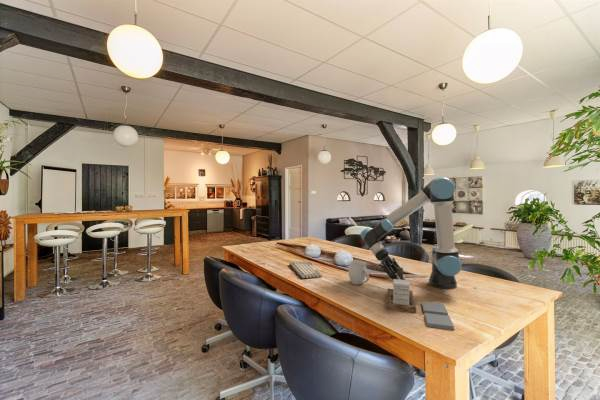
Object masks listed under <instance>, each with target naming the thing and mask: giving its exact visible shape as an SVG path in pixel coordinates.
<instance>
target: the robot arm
mask: <svg viewBox="0 0 600 400" xmlns="http://www.w3.org/2000/svg"><path fill="white" fill-rule="evenodd" d="M419 191H420V192H418V193H417V194H416V195H415V196H413V197H411V198H410V199H409V200H407V201H406V202H404V203H403V204H402V205H400V206H399V207H397V208H396V209H395V210H393V211H392V212H390V213H389V214H388V215H386V216H385V217H384V218H382V219H380V220H379V221H378V222H377V224H376V225H375V226H374V227H372V229H371V227H370V228H369V227H366V228H365V229H363V230H362V231H361V232H360V237H361V239H362V241H363V242H364V243H365V245H366V247H368V249H369V250H370V251H371V252H372V254H373V255H374V257H375V258H376V260H377V261H380V262H379V264H378V265H379V266H380V267H381V268H382V269H383V271H384V272H385V273H386V274H387V275H388V277H389V278H390V279H391V280H393V279H400V278H399V276H397V267H400V268H402V267H401V266H400V265H399V263H398V262H397V261H396V258H395V257H392V258H391V257H390V256H389V251H388V250H387V248H385V246H384V244H383V243H382V242H381V241H380V240H381V239H382V238H383V237H384V236H385V235H387V234H389V233H390V232H391V231H393V229H394V228H395V226H396V225H397V224H399V223H400V222H401V221H403V220H405V219H406V218H407V217H409V216H410V215H412V214H413V213H414V212H415V213H416V211H418V210H419V209H421V208H422V207H424V206H425V205H427V204H428V203H431V204H432V205H433V208H434V220H435V222H434V223H435V233H436V243H437V246H433V247H432V249H431V273H430V276H429V278H428V284H429V285H430V286H432V287H435V288H437V289H438V288H439V289H447V290H448V289H449V290H450V289H451V290H453V289H456V288H457V286H458V283H457V279H456V277H455V276H457V275H458V274H460V272H461V270H462V268H463V267H462V262H461V259H460V254H459V253H460V252H459V250H458V248H457V247H456V245H455V232H454V221H453V211H452V208H453V207H452V204H453V203H454V202H455V191H456V186H455V183H454V182H453V180H451V179H450V178H448V177H437V178H434V179H432V180H431V181H429V183H428V184H427V185H425V186H424V187H423V188H421V189H420V190H419ZM404 272H405V271H404V270H403V280H408V279H407V278H406V277H405V276H404V274H405V273H404ZM400 280H401V279H400ZM409 286H411V283H410V282H409Z"/></svg>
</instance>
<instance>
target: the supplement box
mask: <svg viewBox="0 0 600 400" xmlns="http://www.w3.org/2000/svg"><path fill="white" fill-rule="evenodd" d="M392 280H393V281H392V289H393V298H392V300H393V301H392V302H393V304H401V305H410V300H409V291H410V285H409V283H410V281H409V280H408V279H407V280H400V279H392Z"/></svg>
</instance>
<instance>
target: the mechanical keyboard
mask: <svg viewBox="0 0 600 400" xmlns="http://www.w3.org/2000/svg"><path fill="white" fill-rule="evenodd" d="M287 267H288V268H289V270H290V271H291V272H292V273H294V275H296V276H297V277H298V278H300V280H310V279H311V280H312V279H319V278H323V275H322V273H321V272H320V271H319V270H318V269H317V268H316V267H315V266H314V265H313V263H312V262H311V261H310V260H305V261H290V262H289V265H287ZM325 278H327V277H326V275H325Z"/></svg>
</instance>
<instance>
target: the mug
mask: <svg viewBox="0 0 600 400" xmlns="http://www.w3.org/2000/svg"><path fill="white" fill-rule="evenodd" d="M347 265H348V266H347V269H348V271H347V273H348V276H349V277H348V278H349V279H350V283H352V284H353V285H355V286H360V285H361V286H362V285H363V284H364V283H367V282H369V280H370V273H369V270H368V269H367V262H366V261H364V260H357V259H356V260H354V259H353V260H349V261H348V264H347ZM365 279H366V280H365Z"/></svg>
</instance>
